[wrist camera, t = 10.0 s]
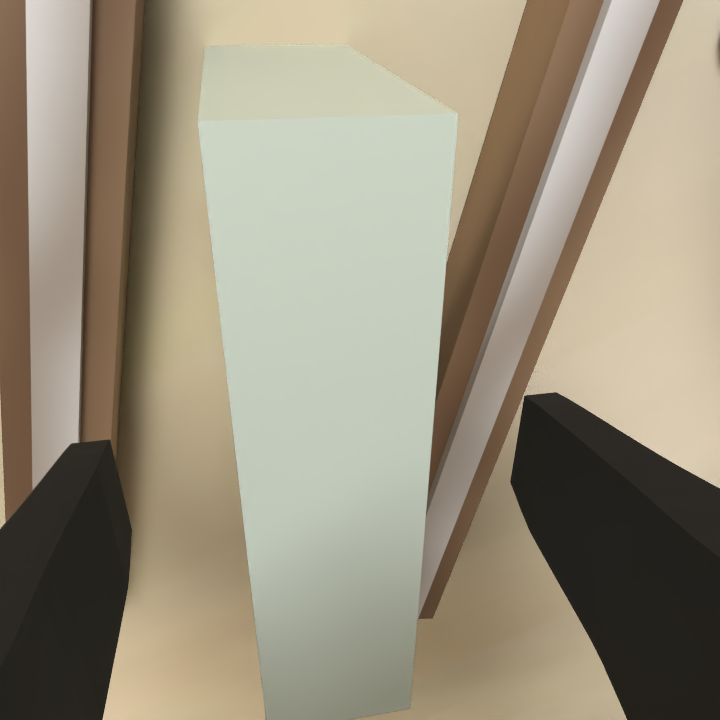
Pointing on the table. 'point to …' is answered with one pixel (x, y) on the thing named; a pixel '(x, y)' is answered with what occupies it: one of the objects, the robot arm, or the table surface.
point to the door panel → (329, 355)
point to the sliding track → (463, 270)
